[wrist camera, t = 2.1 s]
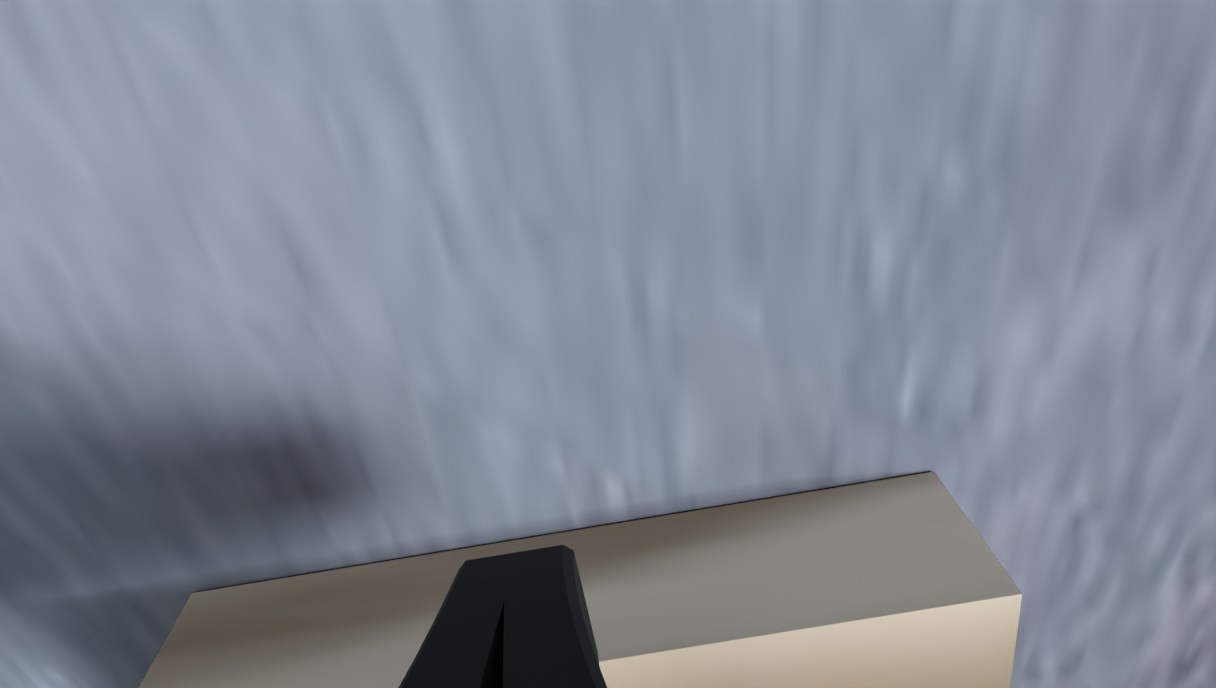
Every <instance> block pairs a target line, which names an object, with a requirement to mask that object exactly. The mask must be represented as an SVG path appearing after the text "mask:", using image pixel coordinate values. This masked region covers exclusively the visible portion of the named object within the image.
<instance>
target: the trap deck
mask: <svg viewBox="0 0 1216 688" xmlns="http://www.w3.org/2000/svg"><path fill="white" fill-rule="evenodd" d="M558 545H565V546H567V547H568V548H570V549H572V550H574V554H575V558H576V562H577V566H578V571H579V575H580V579H581V583H582V588H583V592H584V596H585V600H586V605H587V609H588V613H589V617H590V622H591V626H592V630H593V634H594V639H595V643H596V647H597V651H598V659H599V667H600V670H601V672H602V675H603V678H604V680H605V683H606V686H607V688H1010V682H1011V675H1012V667H1013V660H1014V652H1015V645H1016V637H1017V630H1018V622H1019V614H1020V607H1021V599H1022V593H1021V591H1020V590H1019V589H1018V587H1017V586H1016V584H1015V583H1014V582H1013V580H1012V579H1011V578H1010V576H1009V575H1008V573H1007V572H1006V571H1005V569H1004V568H1003V566H1002V565H1001V564H1000V562H999V561H998V560H997V558H996V557H995V555H994V554H993V553H992V551H991V550H990V548H989V547H988V546H987V544H986V543H985V542H984V540H983V539H982V537H981V536H980V535H979V533H978V532H977V530H976V529H975V528H974V526H973V525H972V524H971V522H970V521H969V519H968V518H967V517H966V515H965V514H964V512H963V511H962V510H961V508H960V507H959V505H958V504H957V503H956V501H955V500H954V499H953V497H952V496H951V494H950V493H949V492H948V490H947V489H946V487H945V486H944V485H943V483H942V482H941V481H940V479H939V478H938V476H937V475H936V474H935V472H928V473H922V474H916V475H910V476H904V477H898V478H891V479H885V480H879V481H873V482H867V483H861V484H855V485H849V486H843V487H837V488H830V489H824V490H818V491H812V492H806V493H800V494H794V495H788V496H782V497H776V498H769V499H763V500H757V501H751V502H745V503H739V504H733V505H727V506H721V507H714V508H708V509H702V510H696V511H690V512H684V513H678V514H672V515H666V516H660V517H653V518H647V519H641V520H635V521H629V522H623V523H617V524H611V525H605V526H599V527H592V528H586V529H580V530H574V531H568V532H562V533H556V534H550V535H544V536H538V537H531V538H525V539H519V540H513V541H507V542H501V543H495V544H489V545H483V546H476V547H470V548H464V549H458V550H452V551H446V552H440V553H434V554H428V555H422V556H415V557H409V558H403V559H397V560H391V561H385V562H379V563H373V564H367V565H361V566H354V567H348V568H342V569H336V570H330V571H324V572H318V573H312V574H306V575H300V576H293V577H287V578H281V579H275V580H269V581H263V582H257V583H251V584H245V585H238V586H232V587H226V588H220V589H214V590H208V591H202V592H196V593H191V595H190V597H189V599H188V601H187V602H186V604H185V606H184V608H183V609H182V611H181V613H180V615H179V616H178V618H177V620H176V622H175V624H174V625H173V627H172V629H171V631H170V632H169V634H168V636H167V638H166V639H165V641H164V643H163V645H162V647H161V648H160V650H159V652H158V654H157V655H156V657H155V659H154V661H153V662H152V664H151V666H150V668H149V670H148V671H147V673H146V675H145V677H144V678H143V680H142V682H141V684H140V685H139V687H138V688H398V687H399V686H400V684H401V682H402V680H403V678H404V677H405V675H406V673H407V671H408V669H409V668H410V666H411V664H412V662H413V660H414V658H415V657H416V655H417V653H418V651H419V649H420V647H421V645H422V643H423V641H424V639H425V637H426V635H427V633H428V632H429V630H430V628H431V626H432V624H433V622H434V620H435V618H436V616H437V614H438V612H439V610H440V608H441V606H442V604H443V601H444V599H445V597H446V595H447V593H448V591H449V589H450V587H451V585H452V583H453V581H454V578H455V576H456V574H457V572H458V570H459V568H460V567H461V566H462V565H463V563H464V562H465V561H466V560H472V559H478V558H484V557H490V556H496V555H502V554H508V553H515V552H521V551H527V550H533V549H539V548H545V547H552V546H558Z"/></svg>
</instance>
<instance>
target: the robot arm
mask: <svg viewBox="0 0 1216 688" xmlns="http://www.w3.org/2000/svg"><path fill="white" fill-rule="evenodd" d="M398 688H607V686H606V683H605V680H604V678H603V675H602V672H601V670H600V667H599V659H598V651H597V647H596V643H595V639H594V634H593V630H592V626H591V622H590V617H589V613H588V609H587V605H586V600H585V596H584V592H583V588H582V583H581V579H580V575H579V571H578V566H577V562H576V558H575V554H574V550H572V549H570V548H568V547H567V546H565V545H558V546H552V547H545V548H539V549H533V550H527V551H521V552H515V553H508V554H502V555H496V556H490V557H484V558H478V559H472V560H466V561H465V562H464V563H463V565H462V566H461V567H460V568H459V570H458V572H457V574H456V576H455V578H454V581H453V583H452V585H451V587H450V589H449V591H448V593H447V595H446V597H445V599H444V601H443V604H442V606H441V608H440V610H439V612H438V614H437V616H436V618H435V620H434V622H433V624H432V626H431V628H430V630H429V632H428V633H427V635H426V637H425V639H424V641H423V643H422V645H421V647H420V649H419V651H418V653H417V655H416V657H415V658H414V660H413V662H412V664H411V666H410V668H409V669H408V671H407V673H406V675H405V677H404V678H403V680H402V682H401V684H400V686H399V687H398Z"/></svg>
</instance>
